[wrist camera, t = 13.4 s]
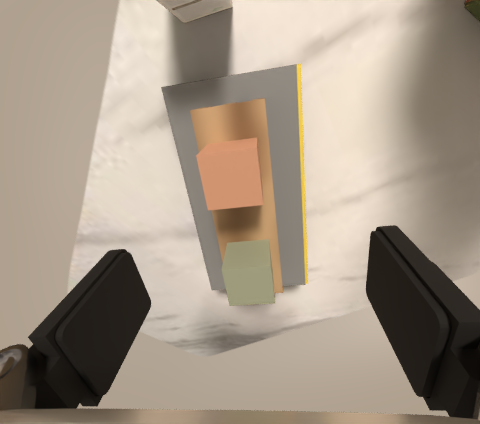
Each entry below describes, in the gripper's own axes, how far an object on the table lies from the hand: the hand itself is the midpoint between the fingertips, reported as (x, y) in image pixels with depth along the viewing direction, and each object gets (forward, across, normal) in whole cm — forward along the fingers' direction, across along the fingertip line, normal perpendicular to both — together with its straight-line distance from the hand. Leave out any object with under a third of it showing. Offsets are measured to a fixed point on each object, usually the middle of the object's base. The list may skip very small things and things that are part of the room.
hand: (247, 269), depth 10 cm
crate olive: (+14, +2, +10) cm, 18 cm away
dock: (+25, +2, +6) cm, 25 cm away
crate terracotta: (+15, +2, 0) cm, 15 cm away
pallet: (+19, +2, +5) cm, 19 cm away
